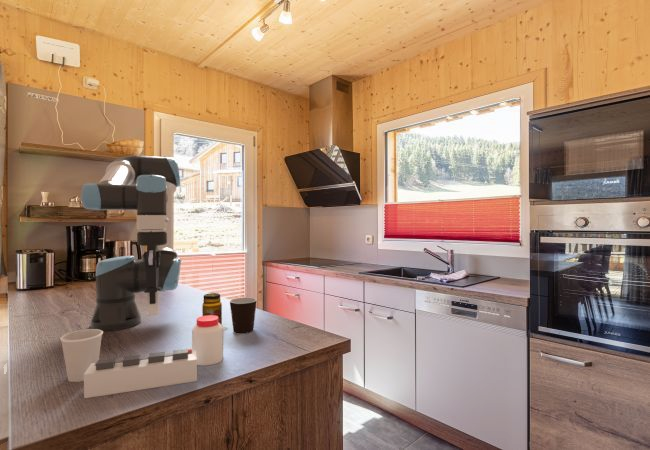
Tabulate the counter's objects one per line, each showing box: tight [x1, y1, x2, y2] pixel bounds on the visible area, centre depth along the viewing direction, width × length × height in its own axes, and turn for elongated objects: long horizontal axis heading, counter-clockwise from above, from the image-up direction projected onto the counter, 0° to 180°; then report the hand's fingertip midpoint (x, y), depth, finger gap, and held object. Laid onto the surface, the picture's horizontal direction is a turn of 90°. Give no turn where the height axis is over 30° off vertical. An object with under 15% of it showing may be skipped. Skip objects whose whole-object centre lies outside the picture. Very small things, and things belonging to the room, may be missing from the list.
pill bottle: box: [191, 315, 224, 367], centre depth 94 cm, size 8×8×11 cm
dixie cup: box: [59, 328, 104, 383], centre depth 84 cm, size 8×8×10 cm
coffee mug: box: [229, 296, 258, 335], centre depth 119 cm, size 12×9×10 cm
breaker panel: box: [83, 348, 198, 399], centre depth 81 cm, size 6×22×6 cm, turn 111°
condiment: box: [201, 292, 227, 331], centre depth 118 cm, size 7×8×12 cm
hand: (153, 314), depth 101 cm, fingers closed
